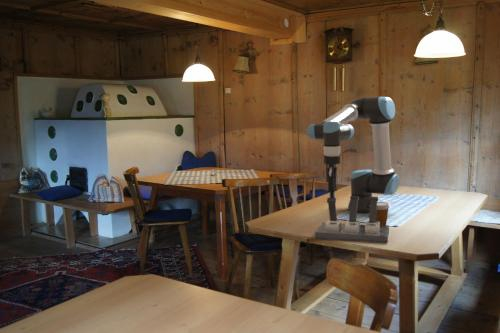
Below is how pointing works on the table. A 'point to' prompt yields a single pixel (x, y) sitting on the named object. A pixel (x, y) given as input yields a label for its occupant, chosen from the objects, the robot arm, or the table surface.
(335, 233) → the breaker panel
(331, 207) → the handle
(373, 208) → the end handle
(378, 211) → the disposable coffee cup
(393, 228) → the table surface
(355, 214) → the middle handle
